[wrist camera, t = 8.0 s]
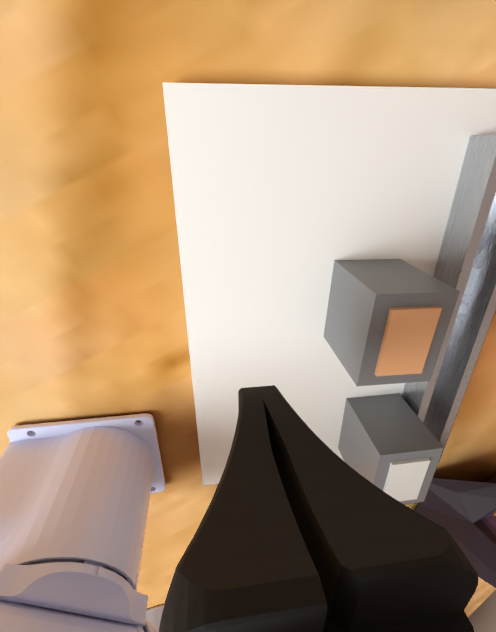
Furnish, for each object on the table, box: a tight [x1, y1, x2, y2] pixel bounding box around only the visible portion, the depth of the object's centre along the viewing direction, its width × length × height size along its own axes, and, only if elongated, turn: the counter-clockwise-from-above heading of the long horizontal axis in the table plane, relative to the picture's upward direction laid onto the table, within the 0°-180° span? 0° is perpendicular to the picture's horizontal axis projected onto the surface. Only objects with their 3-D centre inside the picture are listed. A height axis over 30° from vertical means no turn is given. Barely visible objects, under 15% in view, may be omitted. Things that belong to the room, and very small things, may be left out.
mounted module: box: [338, 393, 444, 504], centre depth 23 cm, size 4×5×5 cm
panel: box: [163, 83, 496, 486], centre depth 21 cm, size 18×26×1 cm
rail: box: [402, 135, 496, 463], centre depth 21 cm, size 3×22×2 cm, turn 0°
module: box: [324, 259, 460, 386], centre depth 18 cm, size 4×5×5 cm
